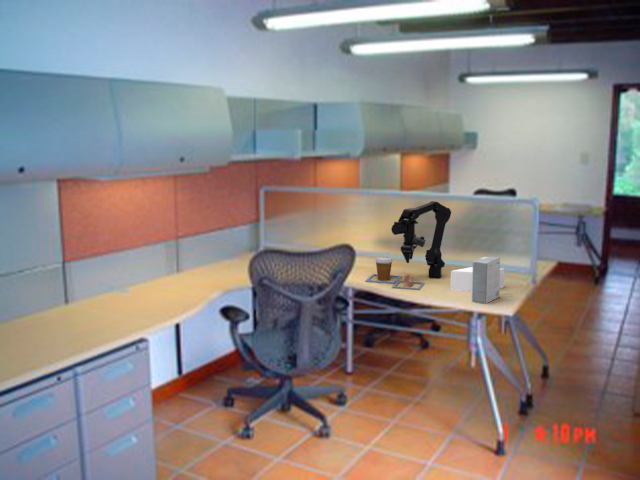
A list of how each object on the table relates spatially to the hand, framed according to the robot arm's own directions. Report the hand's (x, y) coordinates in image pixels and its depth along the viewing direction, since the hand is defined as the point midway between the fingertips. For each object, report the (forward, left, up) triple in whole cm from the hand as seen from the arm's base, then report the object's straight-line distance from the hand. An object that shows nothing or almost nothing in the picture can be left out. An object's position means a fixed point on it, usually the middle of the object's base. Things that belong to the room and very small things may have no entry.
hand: (409, 261), depth 343 cm
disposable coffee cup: (+14, -1, -12) cm, 19 cm away
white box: (-37, +4, -12) cm, 39 cm away
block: (-1, +9, -12) cm, 15 cm away
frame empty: (-2, +9, -12) cm, 15 cm away
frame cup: (+14, -1, -12) cm, 18 cm away
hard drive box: (-43, +24, -12) cm, 50 cm away
